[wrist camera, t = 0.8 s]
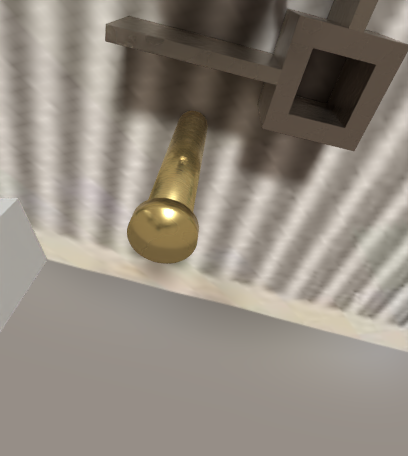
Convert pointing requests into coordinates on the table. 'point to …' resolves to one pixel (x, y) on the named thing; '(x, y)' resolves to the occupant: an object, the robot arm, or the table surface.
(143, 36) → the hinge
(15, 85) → the table surface
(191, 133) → the pin
